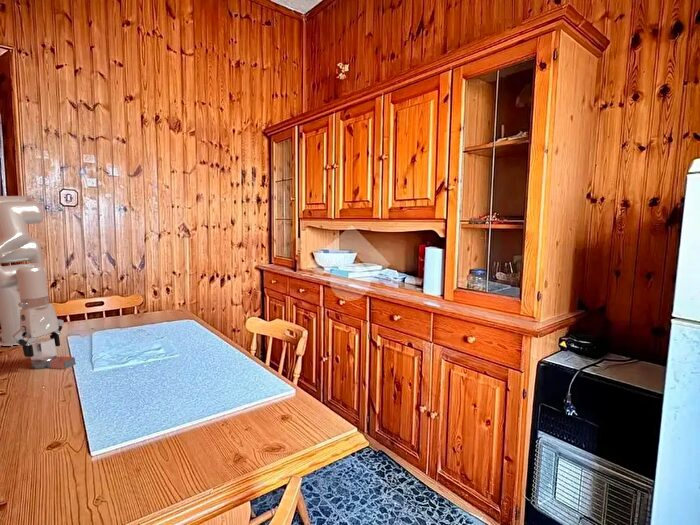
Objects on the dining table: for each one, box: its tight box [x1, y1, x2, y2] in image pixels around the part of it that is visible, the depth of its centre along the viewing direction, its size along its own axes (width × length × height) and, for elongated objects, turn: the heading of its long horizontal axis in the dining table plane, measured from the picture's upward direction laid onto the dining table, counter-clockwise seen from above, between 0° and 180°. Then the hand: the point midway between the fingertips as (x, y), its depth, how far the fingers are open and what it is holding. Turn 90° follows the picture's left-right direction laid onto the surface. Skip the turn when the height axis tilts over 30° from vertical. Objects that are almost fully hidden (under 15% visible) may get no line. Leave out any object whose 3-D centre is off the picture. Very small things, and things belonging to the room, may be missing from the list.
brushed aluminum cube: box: [30, 337, 58, 361], centre depth 138 cm, size 5×5×6 cm
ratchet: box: [30, 354, 77, 370], centre depth 137 cm, size 14×7×6 cm, turn 78°
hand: (43, 350), depth 138 cm, fingers open, 9 cm apart
